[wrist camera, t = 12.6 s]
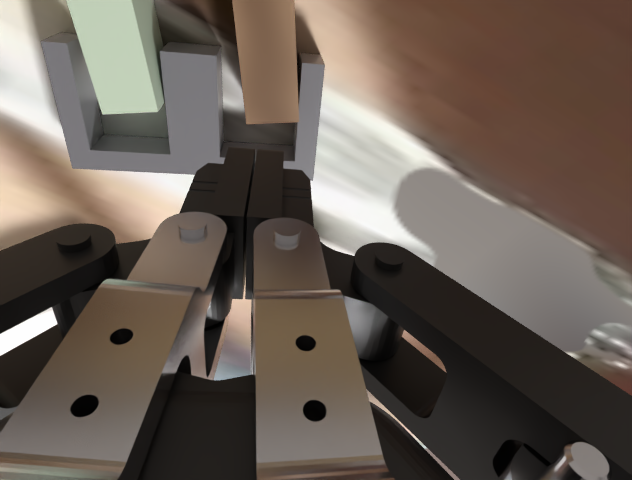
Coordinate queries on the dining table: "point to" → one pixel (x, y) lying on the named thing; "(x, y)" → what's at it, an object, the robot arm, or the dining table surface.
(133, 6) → the sage slat
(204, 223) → the robot arm
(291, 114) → the walnut slat
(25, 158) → the dining table surface
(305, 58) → the frame
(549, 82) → the dining table surface
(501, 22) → the dining table surface
